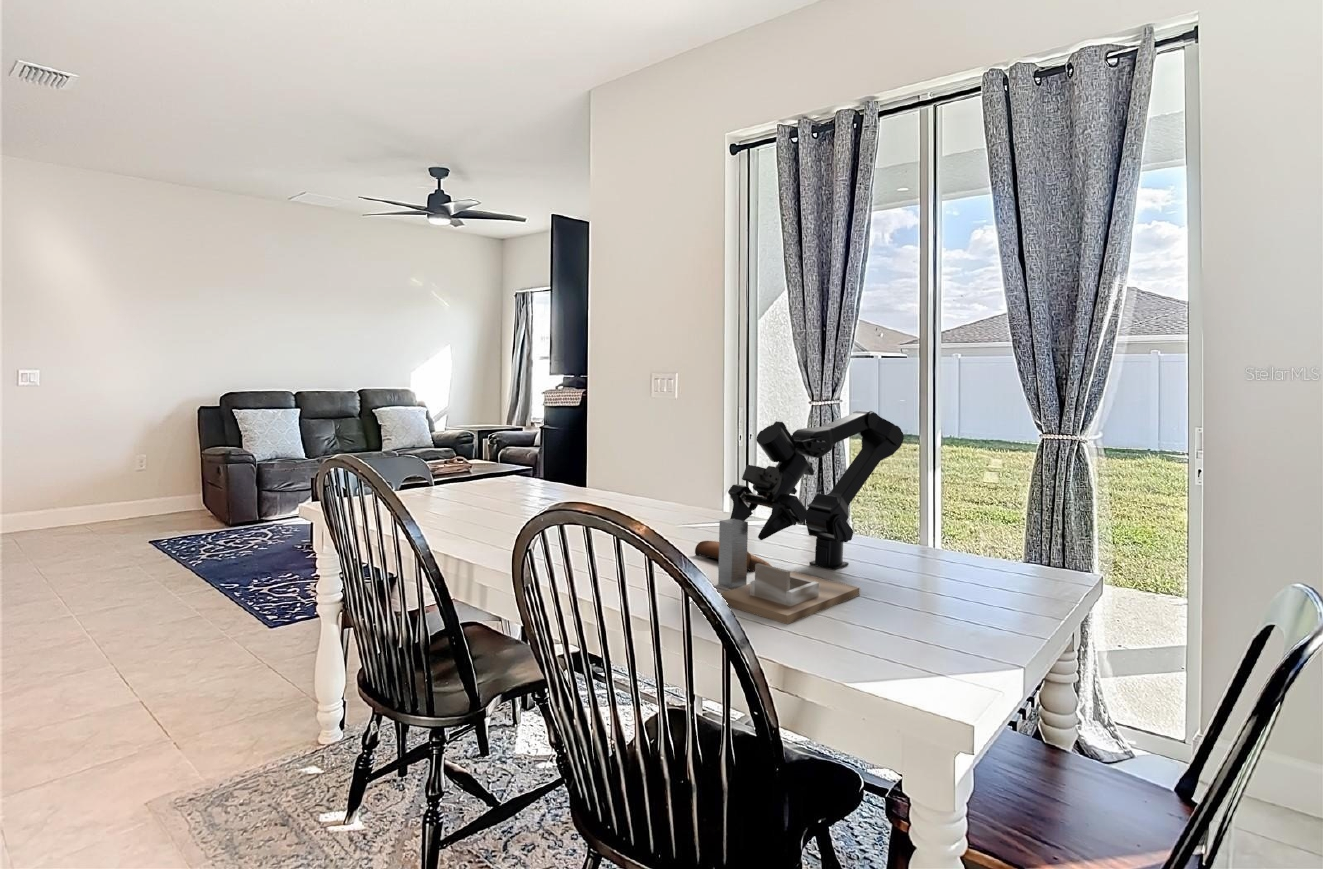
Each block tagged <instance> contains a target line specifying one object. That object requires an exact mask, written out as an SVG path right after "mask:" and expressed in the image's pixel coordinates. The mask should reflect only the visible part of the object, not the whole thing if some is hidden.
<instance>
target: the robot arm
mask: <svg viewBox="0 0 1323 869" xmlns="http://www.w3.org/2000/svg"><path fill="white" fill-rule="evenodd" d="M857 434H858V435H859V436H860V437H861V449H860V451H859V452H858V453H857V455H856V457H855V458H854V459H853V460H852V462H851V463H850V465H849V466H848V467H847V469H845V471H844V472H843V474H842V475H841V477H840V478H839V480H838V481H837V482H836V483H835V485H834V486H833V488H832V490H831V491H830V492H829V493H828V494H826V493H825V494H824V493H817V494H815V495H814V497H813V499H812V501H811V502H810V503H808V504H807V506H804V504H803V503H802V502H801V500H800V499H799V497H798V496H797V495H796V494H797V492H798V490H797V489H796V486H797V485H798V484H799V482H800V480H801V479H802V477H803V476H804V475H807V476H814V475H815V470H814V467H813V465H814V464H813V462H809V461H808V460H807V458H806V457H808V458H816V459H819V458H822V457H824V456H826V455H827V454H828V453H829V452H831V451H832V450H833V447H834V445H836V444H837V443H839V442H842V441H844V440H846V439H849V438H850V437H853V436H855V435H857ZM904 435H905V434H904V432H903V431H902V429H901V427H900V426H898V425H895V424H894V423H893V422H891V421H889V420H887V419H885V418H883V417H882V416H880V415H879V414H877V413H876V412H875V411H872V410H863V409H862V410H861V409H860V410H859V409H857V410H856V411H853V412H852V413H850V414H848V415H846V416H843V417H842V418H839V419H836V420H834V421H832V422H829V423H827V424H824V425H822V426H817V427H815V426H814V427H806V428H805V427H804V428H799V429H796V430H795V431H794V432H792V434H791V433H790V431H789V429H788V428H787V427H786V425H785V423H784V422H783V421H777V420H776V421H775V422H773V424H771V425H768V426H767V427H765V428H763V429H762V430H760V431H759V432H758V434H757V436H756V438H755V440H756V442H757V444H758V445H759V446H760V448H761V449H762V450H763V452H764V453H765V455H766V456H767V457H768V459H769V460H770V461H771V462H773V463H777V464H776V465H775V466H772V465H768V466H767V467H762V466H759V465H752V464H747V465H746V466H745V468H744V472H743V474H742V477H741V480H742V481H744V482H745V481H746V482H748V483H750V484H752V489H753V490H754V491H755V492H757V493H756V494H755V493H754V492H753V491H752V490H751V488H750V487H749V486H748V485H747V486H746V485H742V484H739V483H737V484H732V485H731V487H730V488H729V489H728V490H727V493H728V495H729V498H730V500H732V504H733V505H732V511H731V515H730V518H729V519H738V520H742V521H746V520H747V519H748V518H750V517H751V516H752V515H753V512H752V511H754V510H756V509H757V507H758V506H762V507H766V508H769V509H771V514H770V516H769V517H768V519H767V520H766V522H765V524H764V525H763V526H762V528H761V529H760V532H759V534H758V536H757V538H758V539H759V541H764V540H765V539H767V538H769V537H770V536H773V535H775V534H776V533H778V532H780V531H783V530H785V529H787V528H789V527H791V526H796V525H797V524H803V523H804V522H805V524H806V528H807V533H808V536H809V537H816V538H815V549H814V550H815V551H814V552H815V554H814V560H811V561H809V565H812V566H815V567H820V568H823V569H827V570H828V569H829V570H837V569H841V568H844V567H847V566H849V562H847V561H844V559H843V558H844V557H843V556H844V554H843V553H844V543H848V542H849V541H852V538H853V535H854V530H853V528H852V527H851V526H850V524H849V523H848V522H847V521H848V519H849V506H850V504H851V503H852V502H853V500H854V498H855V497H856V496H857V495H858V493H859V491H860V490H861V489H862V487H863V485H864V484H865V483H866V482H867V480H868V479H869V478H870V476H871V475H872V474H873V472H874V471H875V469H876V468H877V466H878V465H879V464H880V462H882V461H883V460H885V459H888V458H889V457H891V456H893V455H894V454H895V453H896V452H897V451H898V450H899V449H900V448H901V447H902V445H903V442H904V441H905V440H904V439H905V437H904ZM806 507H807V508H806Z"/></svg>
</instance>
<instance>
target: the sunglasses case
mask: <svg viewBox="0 0 1323 869" xmlns="http://www.w3.org/2000/svg"><path fill="white" fill-rule="evenodd" d="M694 554H695V556H701V557H706V558H707V557H708V558H713V559H716V560H718V561H719V541H716V540H714V541H713V540H702V541H700V542H698V543H697V545H696V546H695V549H694ZM758 563H760V564H764V565H768V566H772V565H771V564H770V563H769V562H767V561H766V560H764V559H762V558H761V557H758V556H757V555H754V554H751V553H750V552H749V551H748V550H747V570H749V572H750V573H752V572H753V573H755V564H758Z"/></svg>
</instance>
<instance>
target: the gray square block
mask: <svg viewBox="0 0 1323 869" xmlns="http://www.w3.org/2000/svg"><path fill="white" fill-rule="evenodd" d="M718 525H719V527H718V528H719V532H718V533H719V534H718V536H719V537H718V542H719V560H718V572H717V573H718V579H717V580H718V581H717V582H718V583H717V585H719V586H722V587H725V588H728V589H729V590H731V589H734V588H738V587H741V586H744V585H747V573H748V569H747V551H748V538H749V537H748V535H749V534H748V531H749V529H748V528H749V522H748V521H746V520H745V521H742V520H738V519H730V518H729V519H721V520H719V524H718Z"/></svg>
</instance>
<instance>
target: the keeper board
mask: <svg viewBox="0 0 1323 869" xmlns="http://www.w3.org/2000/svg"><path fill="white" fill-rule="evenodd" d="M860 588H861V587H858V586H855V585H852V584H851V585H850V584H846V583H842V582H838V581H834V580H830V579H826V578H822V577H817V576H814V575H810V574H805V573H801V572H797V571H792V570H789V569H784V568H780V567H776V566H772V565H771V566H768V565H764V564H760V563H758V564H755V571H754V580H751V581H750V583H748V584H747V583H746V585H744V586H741V587H738V588H734V589H728V590H726V591H722V592H720V593H721V595H722V597H723V598H724V599H725V600H726V602H727V603H728V605H729V606H730V608H733V609H736V610H739V611H743V612H747V613H750V614H753V615H757V616H760V617H763V618H766V619H769V620H772V621H776V622H779V623H782V624H786V625H790V624H791V623H794V622H796V621H798V620H802V619H804V618H806V617H808V616H810V615H811V616H812V615H813V614H815V613H818V612H821V611H823V610H826V609H828V608H831V607H834V606H836V605H838V604H840V603H843V602H846V601H848V600H850V599H854V598H855V597H858V596H860V590H861V589H860ZM729 606H728V607H729Z"/></svg>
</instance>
